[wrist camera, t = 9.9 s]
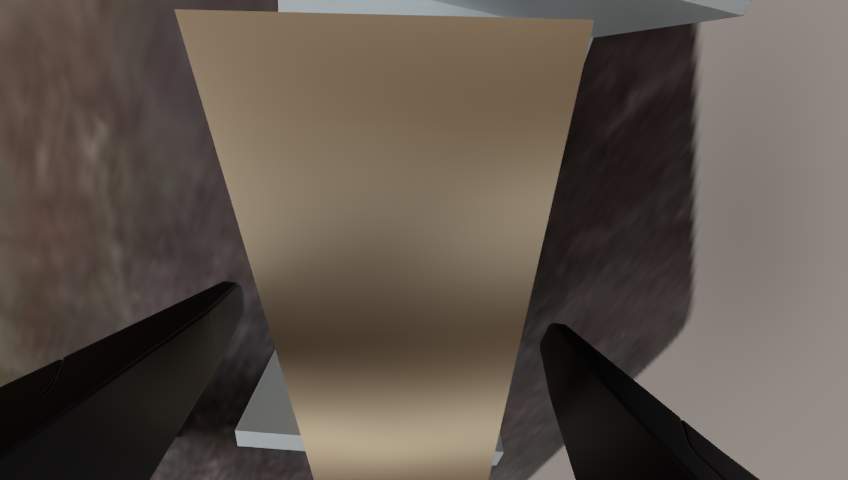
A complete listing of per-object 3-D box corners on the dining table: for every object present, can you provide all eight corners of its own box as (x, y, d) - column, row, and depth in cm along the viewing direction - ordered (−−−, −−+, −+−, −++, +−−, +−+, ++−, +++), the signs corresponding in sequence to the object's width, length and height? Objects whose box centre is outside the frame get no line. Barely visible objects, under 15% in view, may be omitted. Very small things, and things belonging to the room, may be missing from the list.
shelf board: (469, 390, 15) (485, 490, 11) (341, 391, 15) (318, 493, 11) (517, 38, 8) (594, 19, 5) (280, 33, 8) (173, 8, 4)
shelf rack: (472, 345, 22) (496, 465, 15) (294, 324, 21) (237, 445, 14) (594, 4, 13) (782, -59, 6) (286, -70, 11) (112, -248, 5)
